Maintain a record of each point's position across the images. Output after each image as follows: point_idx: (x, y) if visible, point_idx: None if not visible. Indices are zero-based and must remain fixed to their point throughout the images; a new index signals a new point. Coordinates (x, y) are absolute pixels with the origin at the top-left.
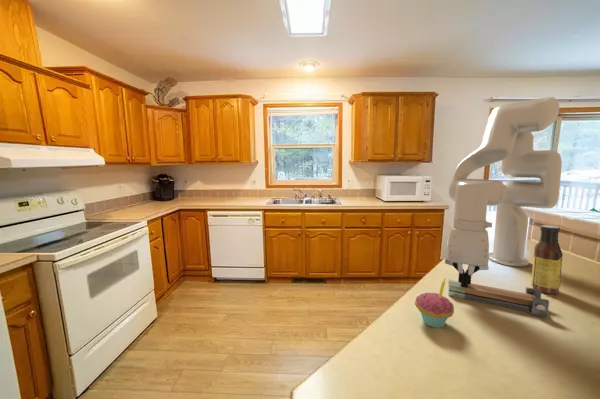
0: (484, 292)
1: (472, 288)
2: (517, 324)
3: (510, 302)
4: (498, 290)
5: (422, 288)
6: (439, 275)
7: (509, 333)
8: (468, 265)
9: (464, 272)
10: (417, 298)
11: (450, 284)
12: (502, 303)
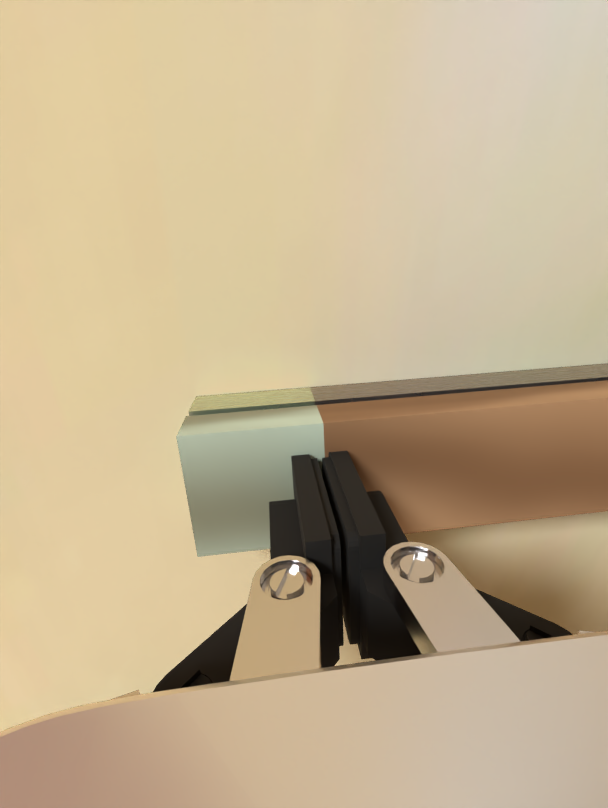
0: (465, 521)
1: None
2: (542, 604)
3: None
4: (586, 445)
5: (7, 483)
6: (41, 47)
7: None
8: (422, 635)
9: (339, 586)
10: None
11: (206, 542)
12: None
